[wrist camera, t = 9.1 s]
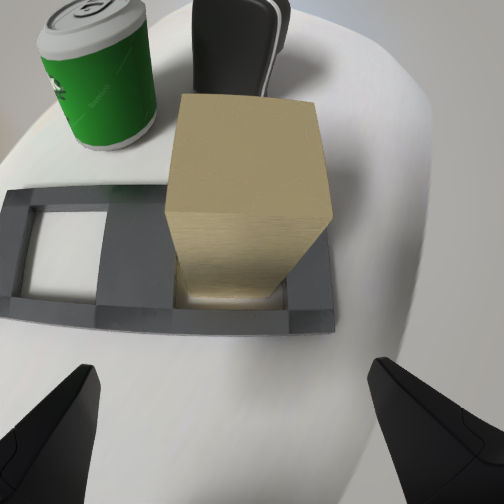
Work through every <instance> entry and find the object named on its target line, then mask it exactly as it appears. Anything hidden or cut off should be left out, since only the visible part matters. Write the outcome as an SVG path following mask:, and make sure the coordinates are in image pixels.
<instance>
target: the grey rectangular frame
mask: <svg viewBox="0 0 504 504" xmlns="http://www.w3.org/2000/svg"><path fill="white" fill-rule="evenodd" d="M167 187H168V185H94V186H67V187H48V188H31V189H17V190H7V193H6V196H5V199H4V202H3V206H2V209H1V213H0V318H4V319H10V320H16V321H23V322H30V323H37V324H45V325H52V326H61V327H69V328H79V329H89V330H99V331H111V332H124V333H139V334H157V335H179V336H223V337H254V336H298V335H321V334H331V333H334V332H335V323H334V308H333V294H332V282H331V271H330V260H329V250H328V241H327V232H326V228H325V229H324V231H323V232H322V233H321V234H320V236H319V237H318V238H317V239H316V240H315V242H314V243H313V244H312V245H311V247H310V248H309V249H308V250H307V252H306V253H305V254H304V255H303V256H302V258H301V259H300V260H299V261H298V263H297V264H296V265H295V266H294V267H293V269H292V270H291V271H290V272H289V273H288V275H287V276H286V277H285V278H284V279H283V303H284V310H196V309H175V291H176V270H177V253H176V250H175V246H174V243H173V240H172V236H171V233H170V229H169V226H168V222H167V219H166V215H165V204H166V195H167ZM86 211H108V212H107V218H106V224H105V230H104V236H103V243H102V250H101V257H100V265H99V273H98V282H97V292H96V304H95V305H93V304H80V303H68V302H57V301H46V300H36V299H27V298H20V292H21V285H22V278H23V272H24V266H25V260H26V255H27V249H28V244H29V240H30V235H31V230H32V226H33V222H34V218H35V214H36V212H86Z"/></svg>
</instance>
